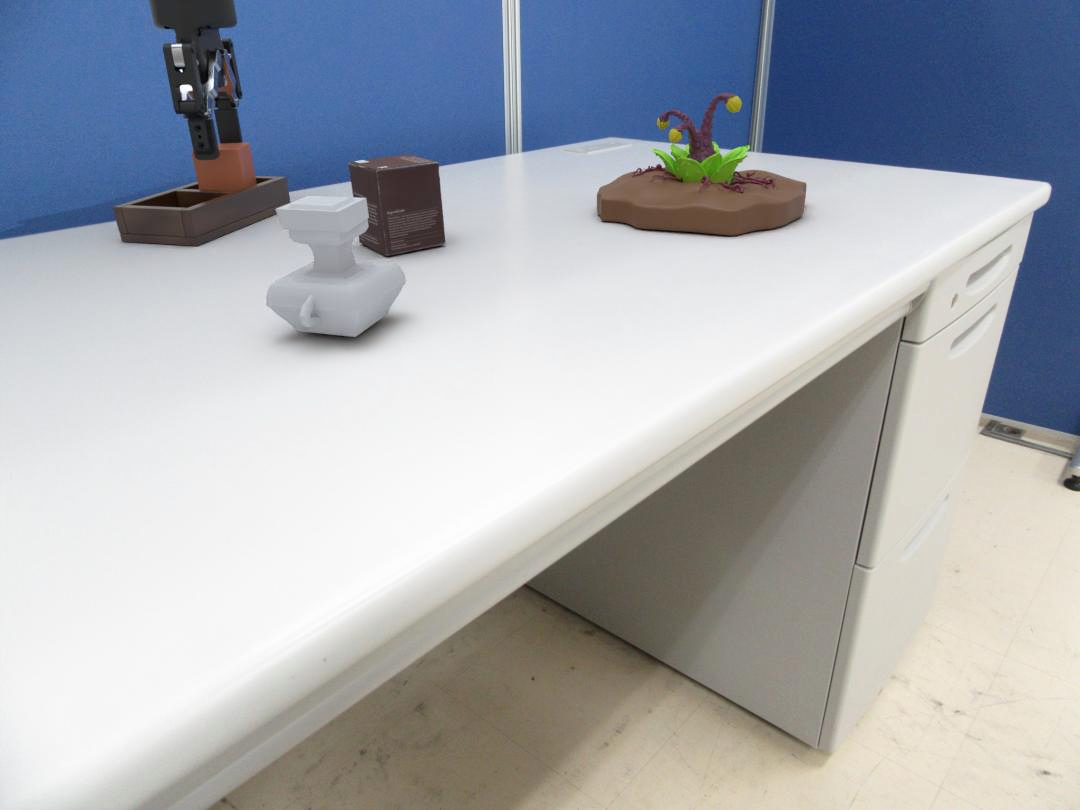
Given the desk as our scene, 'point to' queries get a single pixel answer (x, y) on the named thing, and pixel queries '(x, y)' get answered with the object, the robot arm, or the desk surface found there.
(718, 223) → the plant
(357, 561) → the desk surface
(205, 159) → the robot arm
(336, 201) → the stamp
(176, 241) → the tray
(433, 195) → the box
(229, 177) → the block
